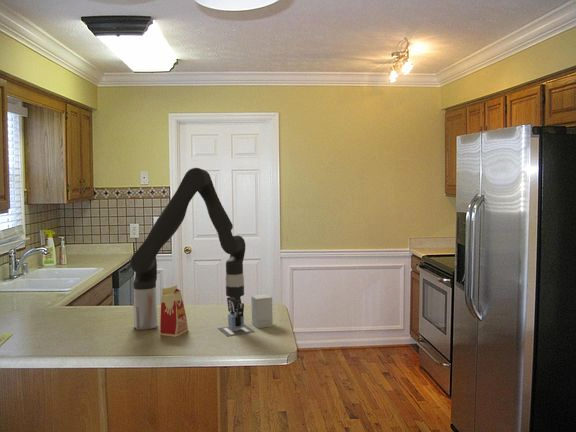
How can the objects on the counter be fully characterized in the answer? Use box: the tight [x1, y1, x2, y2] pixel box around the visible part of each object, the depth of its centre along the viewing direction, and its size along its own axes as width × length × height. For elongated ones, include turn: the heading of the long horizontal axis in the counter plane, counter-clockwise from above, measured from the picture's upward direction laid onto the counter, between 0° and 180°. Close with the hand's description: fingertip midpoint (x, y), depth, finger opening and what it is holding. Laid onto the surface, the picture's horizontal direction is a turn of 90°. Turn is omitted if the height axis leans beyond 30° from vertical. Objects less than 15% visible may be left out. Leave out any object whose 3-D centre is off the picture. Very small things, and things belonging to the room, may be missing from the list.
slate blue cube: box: [227, 313, 245, 329], centre depth 217 cm, size 5×5×5 cm
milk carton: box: [159, 285, 189, 338], centre depth 214 cm, size 9×9×20 cm
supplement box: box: [250, 293, 274, 329], centre depth 223 cm, size 7×7×13 cm
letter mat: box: [217, 323, 256, 337], centre depth 217 cm, size 12×12×1 cm
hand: (235, 324), depth 217 cm, fingers closed on slate blue cube, 4 cm apart
